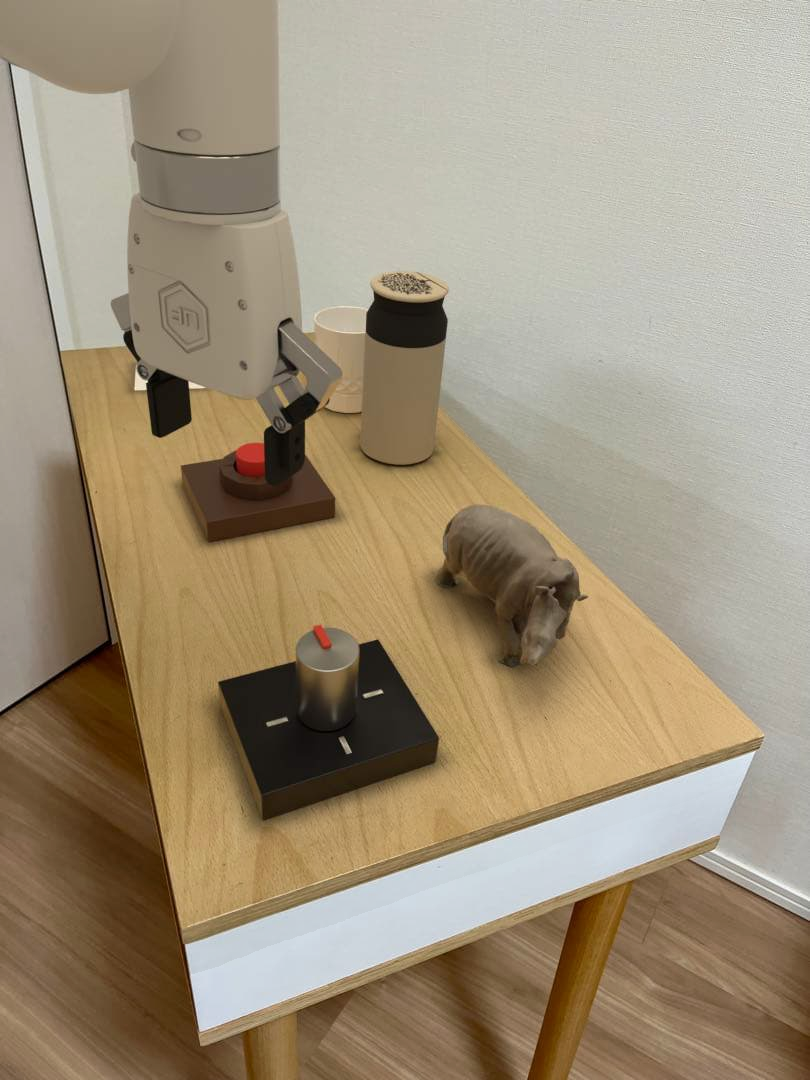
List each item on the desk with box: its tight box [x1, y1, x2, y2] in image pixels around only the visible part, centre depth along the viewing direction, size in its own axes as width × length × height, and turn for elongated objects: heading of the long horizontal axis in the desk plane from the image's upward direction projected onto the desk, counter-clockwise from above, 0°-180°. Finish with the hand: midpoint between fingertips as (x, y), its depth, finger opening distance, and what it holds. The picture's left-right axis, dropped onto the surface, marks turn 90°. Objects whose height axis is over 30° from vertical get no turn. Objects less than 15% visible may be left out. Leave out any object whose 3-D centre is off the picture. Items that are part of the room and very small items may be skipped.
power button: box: [235, 442, 265, 477], centre depth 76 cm, size 4×4×2 cm
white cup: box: [313, 305, 369, 414], centre depth 93 cm, size 8×8×10 cm
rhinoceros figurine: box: [434, 504, 589, 667], centre depth 64 cm, size 8×14×15 cm
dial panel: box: [217, 639, 440, 821], centre depth 55 cm, size 12×10×3 cm
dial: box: [295, 624, 360, 731], centre depth 53 cm, size 4×4×6 cm
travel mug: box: [359, 270, 450, 466], centre depth 83 cm, size 8×8×18 cm
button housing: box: [180, 450, 336, 543], centre depth 77 cm, size 12×10×4 cm
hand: (226, 452), depth 54 cm, fingers open, 9 cm apart
